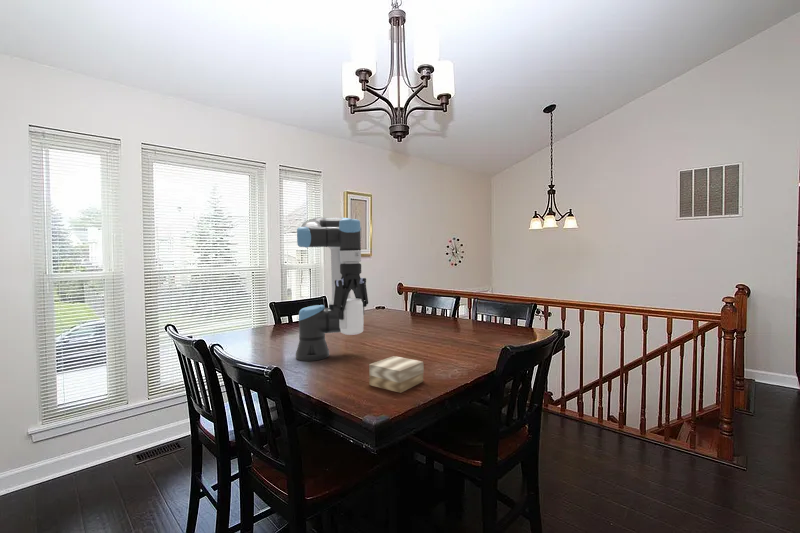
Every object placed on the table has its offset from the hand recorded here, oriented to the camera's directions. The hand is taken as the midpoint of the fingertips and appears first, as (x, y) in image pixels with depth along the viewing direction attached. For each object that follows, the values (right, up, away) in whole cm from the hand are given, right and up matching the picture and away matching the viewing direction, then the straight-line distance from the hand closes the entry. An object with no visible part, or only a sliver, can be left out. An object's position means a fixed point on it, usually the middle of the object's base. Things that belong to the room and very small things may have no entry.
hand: (351, 326), depth 138 cm
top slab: (+16, -18, +3) cm, 24 cm away
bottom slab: (+16, -22, +3) cm, 27 cm away
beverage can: (0, -2, 0) cm, 2 cm away
